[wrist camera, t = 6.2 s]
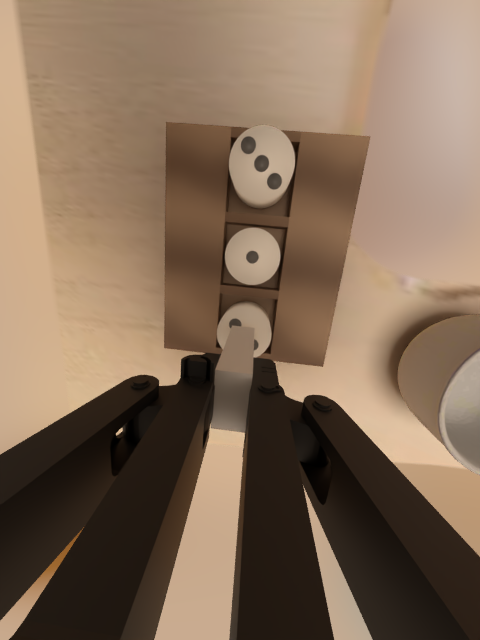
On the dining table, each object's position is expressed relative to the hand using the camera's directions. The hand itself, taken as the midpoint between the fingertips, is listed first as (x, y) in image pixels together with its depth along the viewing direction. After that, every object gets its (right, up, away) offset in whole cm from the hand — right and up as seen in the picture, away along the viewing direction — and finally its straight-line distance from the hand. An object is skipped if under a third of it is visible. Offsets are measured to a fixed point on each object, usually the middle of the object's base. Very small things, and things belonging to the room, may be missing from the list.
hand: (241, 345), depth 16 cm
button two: (0, +1, +4) cm, 4 cm away
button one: (+1, +7, +4) cm, 8 cm away
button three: (+1, +12, +1) cm, 12 cm away
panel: (+1, +7, +5) cm, 9 cm away
